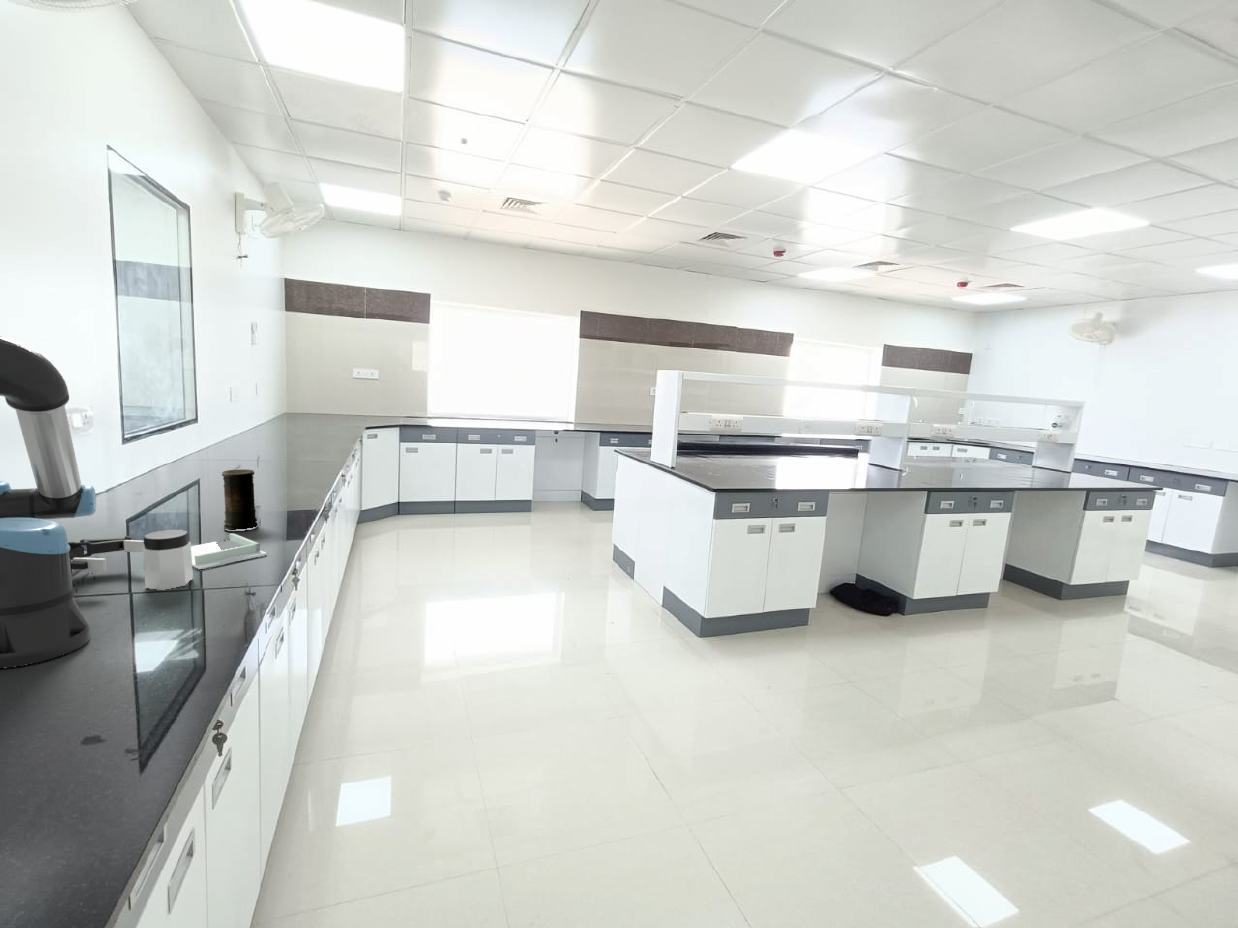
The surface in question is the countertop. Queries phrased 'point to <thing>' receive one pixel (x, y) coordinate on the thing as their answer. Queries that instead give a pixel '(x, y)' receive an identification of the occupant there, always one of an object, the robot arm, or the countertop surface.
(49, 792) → the countertop surface
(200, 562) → the holder
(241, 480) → the container
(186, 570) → the jar
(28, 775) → the countertop surface
